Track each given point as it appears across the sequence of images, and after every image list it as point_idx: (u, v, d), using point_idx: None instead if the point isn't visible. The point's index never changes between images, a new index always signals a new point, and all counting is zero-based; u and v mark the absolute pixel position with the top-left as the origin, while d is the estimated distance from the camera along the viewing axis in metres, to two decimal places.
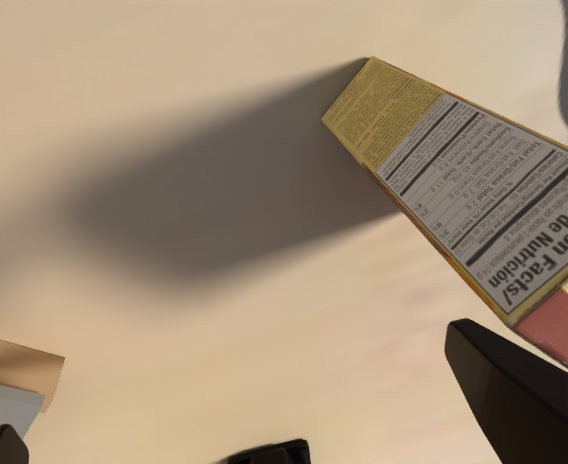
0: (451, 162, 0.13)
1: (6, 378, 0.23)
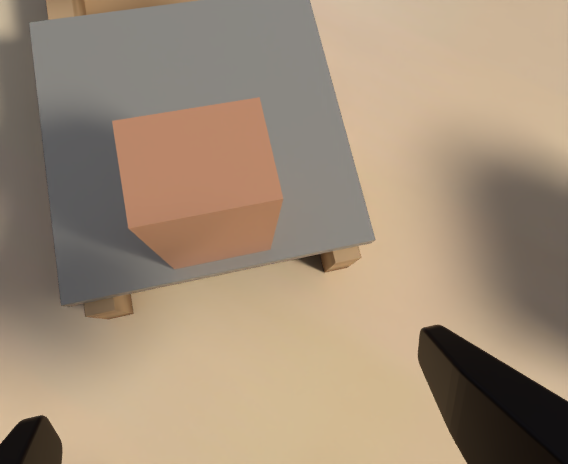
0: None
1: None
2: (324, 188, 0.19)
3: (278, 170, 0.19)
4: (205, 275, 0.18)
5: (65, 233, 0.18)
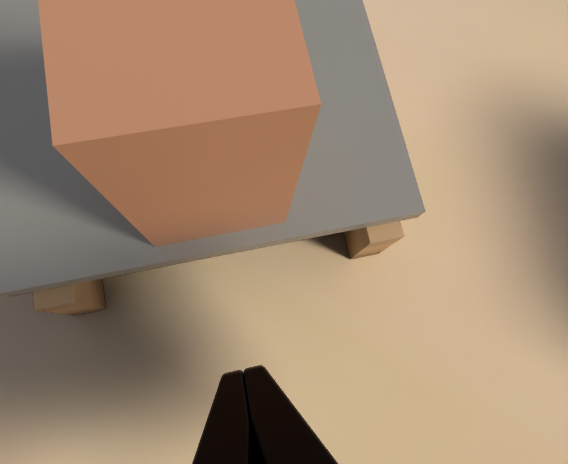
0: None
1: None
2: (356, 143, 0.14)
3: None
4: (197, 255, 0.13)
5: (7, 196, 0.13)
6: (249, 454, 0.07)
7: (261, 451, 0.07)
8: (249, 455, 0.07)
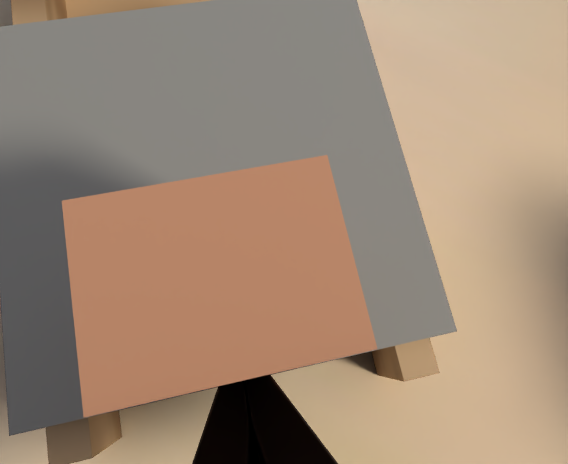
0: None
1: None
2: (382, 256, 0.14)
3: None
4: (218, 385, 0.13)
5: (20, 325, 0.12)
6: (249, 454, 0.07)
7: (261, 451, 0.07)
8: (249, 455, 0.07)
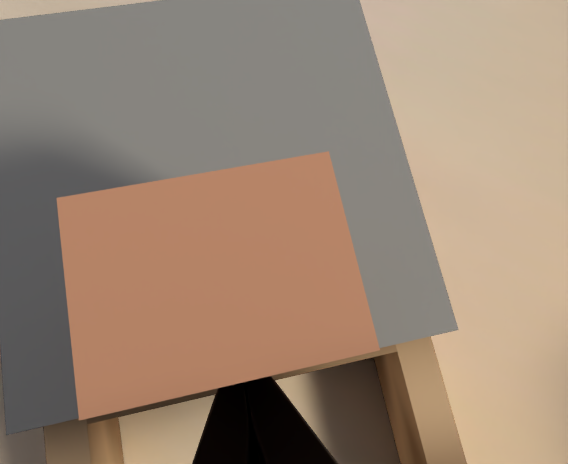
0: None
1: None
2: (384, 254, 0.14)
3: None
4: None
5: (17, 323, 0.12)
6: (249, 454, 0.07)
7: (261, 451, 0.07)
8: (249, 455, 0.07)
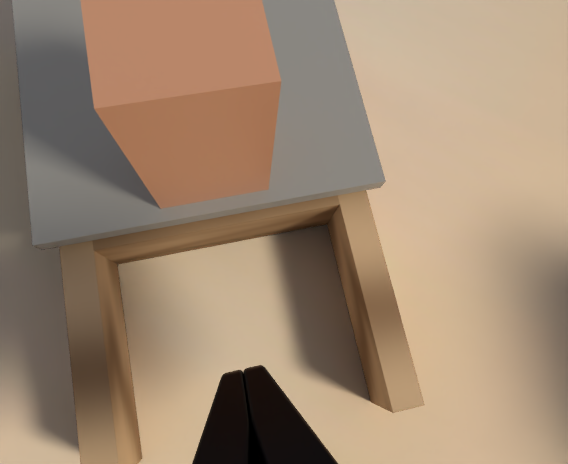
0: None
1: None
2: (328, 125, 0.17)
3: (278, 105, 0.17)
4: (195, 216, 0.16)
5: (39, 167, 0.16)
6: (249, 454, 0.07)
7: (261, 451, 0.07)
8: (249, 455, 0.07)
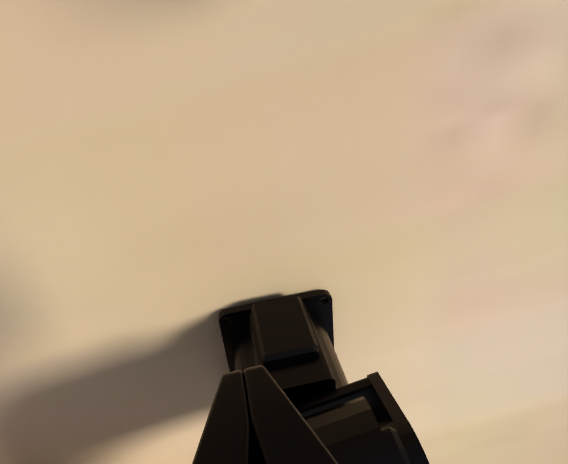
0: None
1: None
2: None
3: None
4: None
5: None
6: (249, 454, 0.07)
7: (261, 451, 0.07)
8: (249, 455, 0.07)
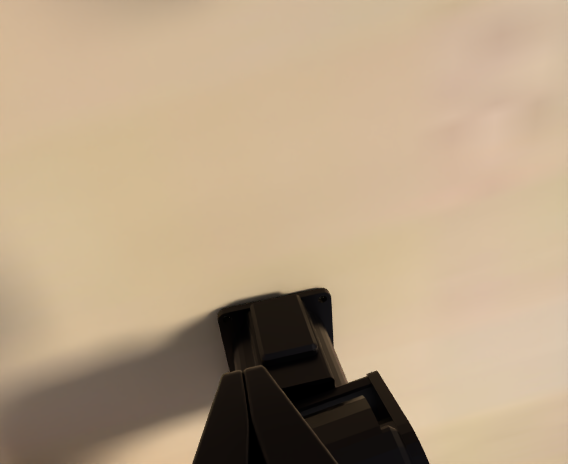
0: None
1: None
2: None
3: None
4: None
5: None
6: (249, 454, 0.07)
7: (261, 451, 0.07)
8: (249, 455, 0.07)
